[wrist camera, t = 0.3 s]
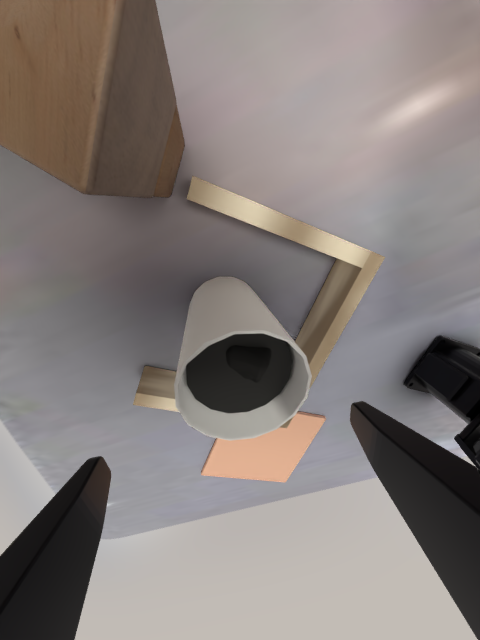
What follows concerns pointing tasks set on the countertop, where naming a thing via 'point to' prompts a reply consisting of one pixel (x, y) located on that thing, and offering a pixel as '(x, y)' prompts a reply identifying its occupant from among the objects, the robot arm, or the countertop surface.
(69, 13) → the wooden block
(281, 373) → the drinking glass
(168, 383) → the beige angled bar
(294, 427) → the terracotta mat
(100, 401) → the countertop surface
